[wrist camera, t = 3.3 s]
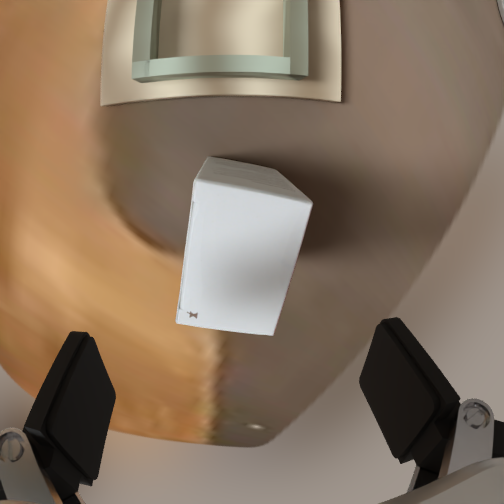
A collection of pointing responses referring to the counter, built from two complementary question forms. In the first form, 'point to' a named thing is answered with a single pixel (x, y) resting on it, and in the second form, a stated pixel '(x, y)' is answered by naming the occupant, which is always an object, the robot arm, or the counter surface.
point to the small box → (240, 247)
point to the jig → (221, 49)
